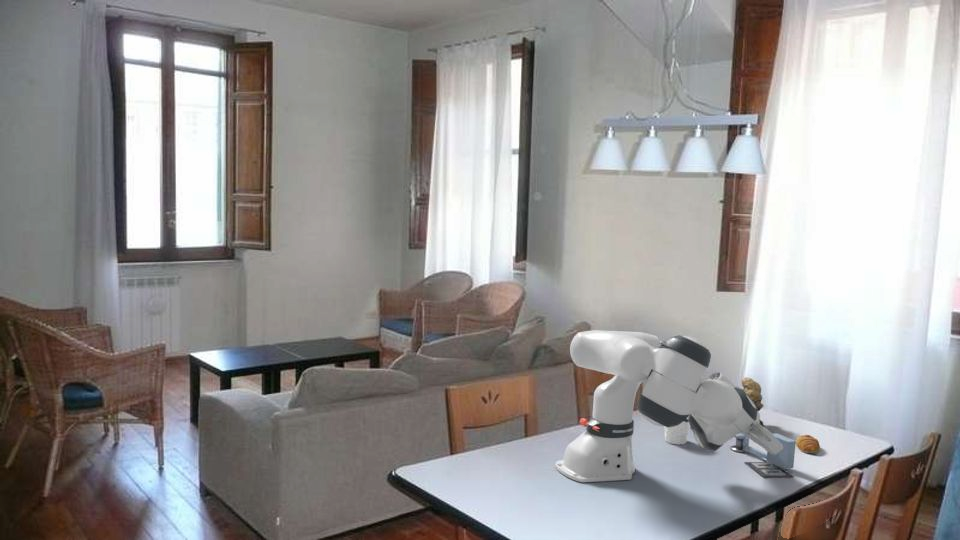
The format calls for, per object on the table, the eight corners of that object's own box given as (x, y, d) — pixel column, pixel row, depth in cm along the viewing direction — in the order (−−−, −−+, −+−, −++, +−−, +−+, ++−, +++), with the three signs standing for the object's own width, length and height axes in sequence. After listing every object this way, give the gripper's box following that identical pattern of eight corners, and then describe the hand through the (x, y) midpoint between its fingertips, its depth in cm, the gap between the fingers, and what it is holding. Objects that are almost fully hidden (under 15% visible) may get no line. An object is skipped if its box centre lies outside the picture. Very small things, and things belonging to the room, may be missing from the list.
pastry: (823, 456, 226) (824, 444, 225) (799, 454, 227) (800, 442, 227) (816, 446, 235) (817, 435, 234) (794, 444, 236) (795, 432, 236)
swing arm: (728, 445, 228) (731, 420, 228) (739, 443, 230) (741, 418, 230) (784, 469, 210) (786, 442, 209) (795, 467, 212) (797, 440, 211)
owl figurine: (745, 417, 263) (749, 370, 261) (773, 427, 253) (778, 379, 251) (709, 423, 254) (714, 374, 252) (737, 434, 244) (742, 383, 242)
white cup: (685, 438, 237) (688, 407, 236) (690, 446, 229) (692, 415, 228) (660, 436, 237) (663, 406, 236) (664, 444, 230) (666, 413, 229)
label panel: (763, 477, 205) (763, 475, 205) (744, 463, 216) (744, 461, 216) (793, 477, 207) (793, 475, 207) (773, 462, 217) (773, 461, 217)
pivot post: (739, 453, 224) (740, 441, 224) (726, 448, 229) (727, 436, 228) (751, 451, 226) (752, 439, 226) (739, 446, 231) (740, 434, 231)
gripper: (770, 422, 200) (800, 457, 203) (734, 400, 221) (762, 432, 223) (753, 438, 200) (783, 472, 203) (719, 415, 220) (747, 446, 223)
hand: (772, 451), depth 213 cm, fingers closed
